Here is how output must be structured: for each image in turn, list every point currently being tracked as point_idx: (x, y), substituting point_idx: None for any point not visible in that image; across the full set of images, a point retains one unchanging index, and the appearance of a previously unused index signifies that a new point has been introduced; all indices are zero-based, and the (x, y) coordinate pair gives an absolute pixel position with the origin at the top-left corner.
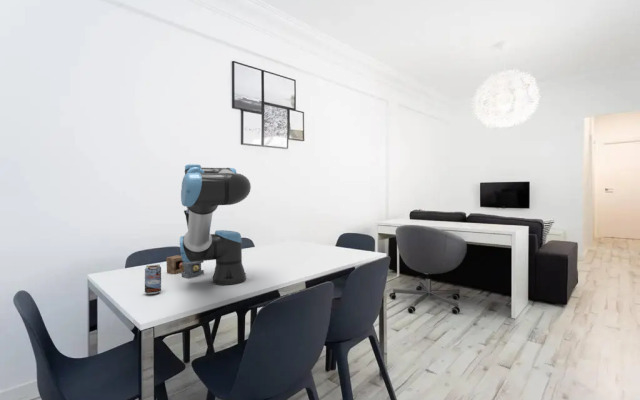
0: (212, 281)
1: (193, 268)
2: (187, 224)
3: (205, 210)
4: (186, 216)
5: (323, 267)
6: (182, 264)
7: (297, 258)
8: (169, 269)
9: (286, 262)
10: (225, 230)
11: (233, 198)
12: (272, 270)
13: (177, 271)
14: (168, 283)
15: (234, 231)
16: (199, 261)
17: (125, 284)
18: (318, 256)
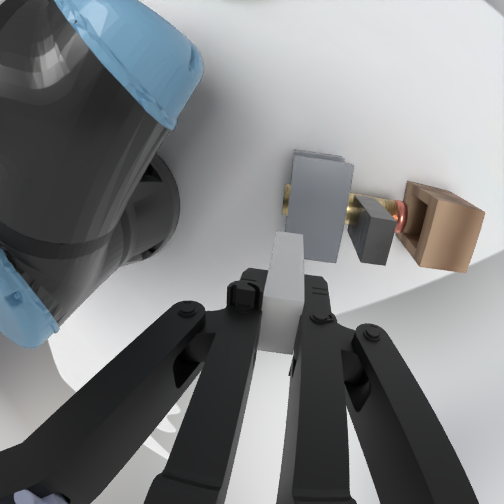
0: (155, 154)
1: (290, 185)
2: (407, 378)
3: None
4: (452, 491)
5: (69, 370)
6: (343, 162)
7: (169, 429)
8: (442, 192)
9: None
10: (20, 334)
11: None
12: (119, 336)
13: (407, 200)
14: (312, 64)
15: (7, 336)
16: (285, 231)
17: (448, 20)
18: (147, 438)
